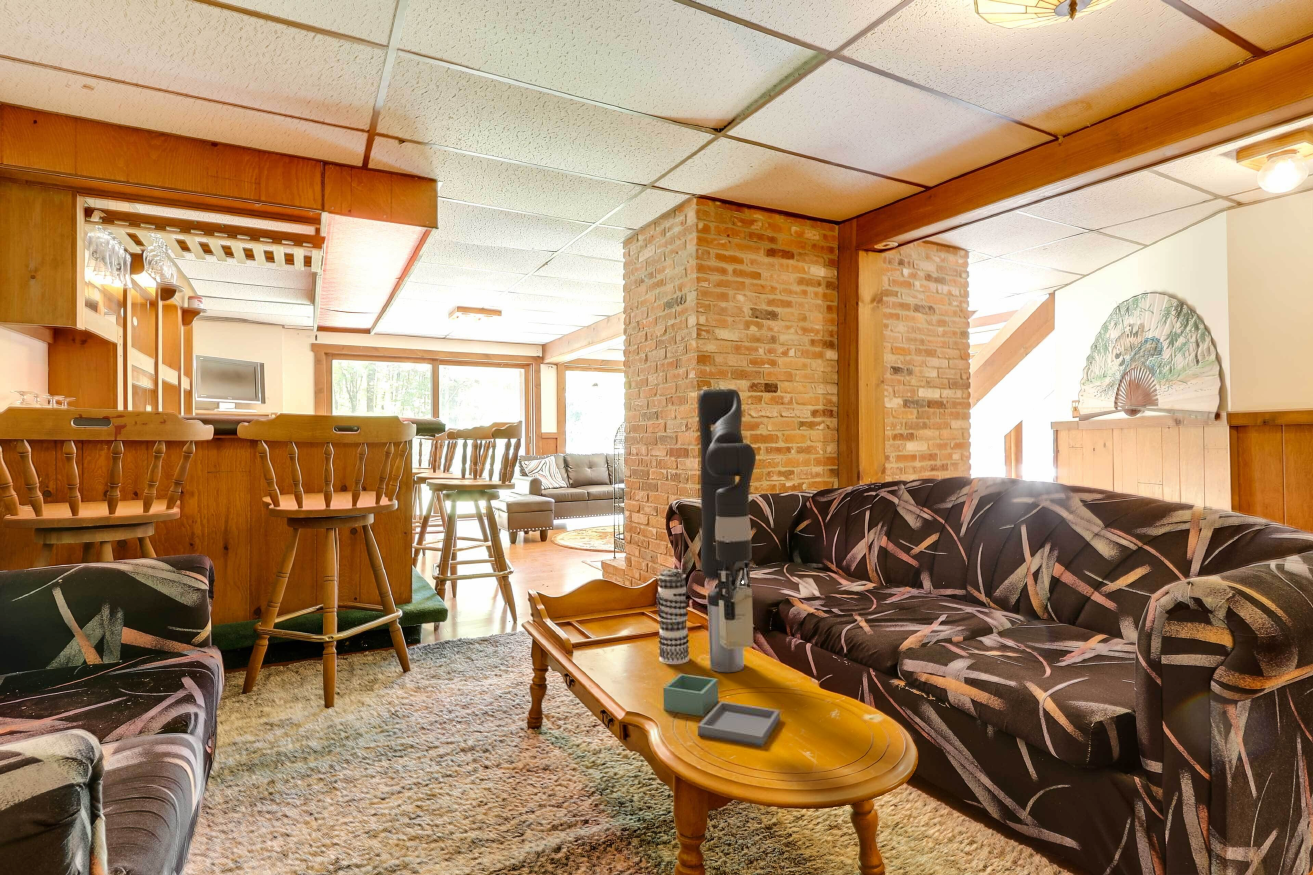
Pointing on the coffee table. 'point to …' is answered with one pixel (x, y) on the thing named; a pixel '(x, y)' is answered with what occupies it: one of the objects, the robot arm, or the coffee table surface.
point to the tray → (739, 723)
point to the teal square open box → (691, 694)
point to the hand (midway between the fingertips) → (735, 614)
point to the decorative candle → (672, 617)
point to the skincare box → (738, 621)
